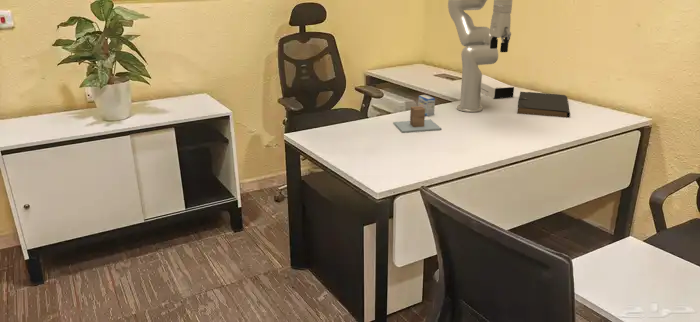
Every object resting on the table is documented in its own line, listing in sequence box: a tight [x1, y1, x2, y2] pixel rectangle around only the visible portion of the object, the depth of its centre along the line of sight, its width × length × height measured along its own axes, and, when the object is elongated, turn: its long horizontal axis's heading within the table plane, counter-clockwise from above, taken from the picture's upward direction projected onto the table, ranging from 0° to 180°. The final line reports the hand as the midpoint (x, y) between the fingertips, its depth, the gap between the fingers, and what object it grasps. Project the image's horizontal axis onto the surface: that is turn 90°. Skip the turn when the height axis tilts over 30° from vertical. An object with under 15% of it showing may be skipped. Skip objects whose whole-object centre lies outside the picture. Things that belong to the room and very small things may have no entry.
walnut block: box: [409, 105, 426, 127], centre depth 238 cm, size 5×5×8 cm
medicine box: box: [417, 94, 436, 117], centre depth 258 cm, size 8×4×9 cm, turn 27°
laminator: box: [481, 74, 515, 100], centre depth 301 cm, size 34×12×6 cm, turn 14°
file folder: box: [516, 91, 571, 118], centre depth 269 cm, size 33×4×24 cm
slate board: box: [393, 119, 442, 134], centre depth 240 cm, size 14×18×1 cm
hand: (498, 50), depth 232 cm, fingers open, 9 cm apart
